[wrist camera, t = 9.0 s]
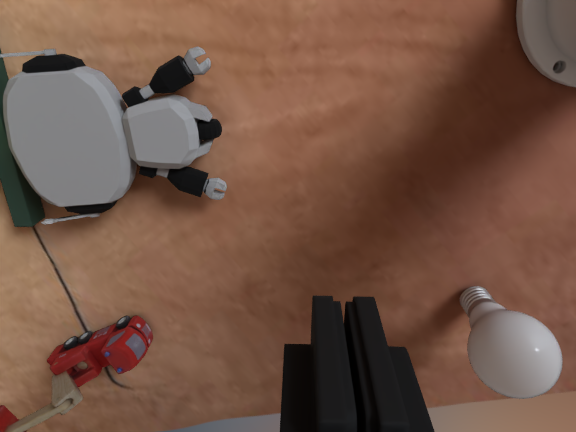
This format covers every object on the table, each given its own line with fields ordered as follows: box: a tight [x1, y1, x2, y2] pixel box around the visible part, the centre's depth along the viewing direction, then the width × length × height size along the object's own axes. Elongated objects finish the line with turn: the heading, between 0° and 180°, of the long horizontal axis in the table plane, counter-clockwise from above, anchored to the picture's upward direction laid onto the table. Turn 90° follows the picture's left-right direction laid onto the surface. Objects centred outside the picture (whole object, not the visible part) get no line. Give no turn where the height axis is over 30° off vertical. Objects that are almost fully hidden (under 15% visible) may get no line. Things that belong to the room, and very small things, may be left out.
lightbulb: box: [460, 286, 562, 399], centre depth 33 cm, size 6×6×11 cm
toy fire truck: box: [0, 316, 153, 432], centre depth 37 cm, size 3×14×10 cm, turn 114°
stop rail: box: [0, 50, 45, 227], centre depth 31 cm, size 2×16×2 cm, turn 0°
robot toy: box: [0, 47, 227, 224], centre depth 31 cm, size 12×4×15 cm
